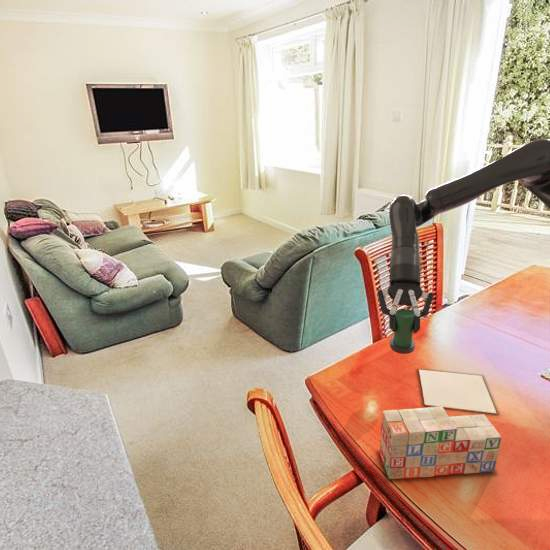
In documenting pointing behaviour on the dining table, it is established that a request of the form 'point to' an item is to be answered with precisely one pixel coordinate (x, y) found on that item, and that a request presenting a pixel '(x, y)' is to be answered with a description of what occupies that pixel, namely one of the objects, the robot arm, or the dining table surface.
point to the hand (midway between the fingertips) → (404, 331)
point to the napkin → (455, 391)
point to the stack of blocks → (436, 443)
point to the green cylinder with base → (403, 332)
